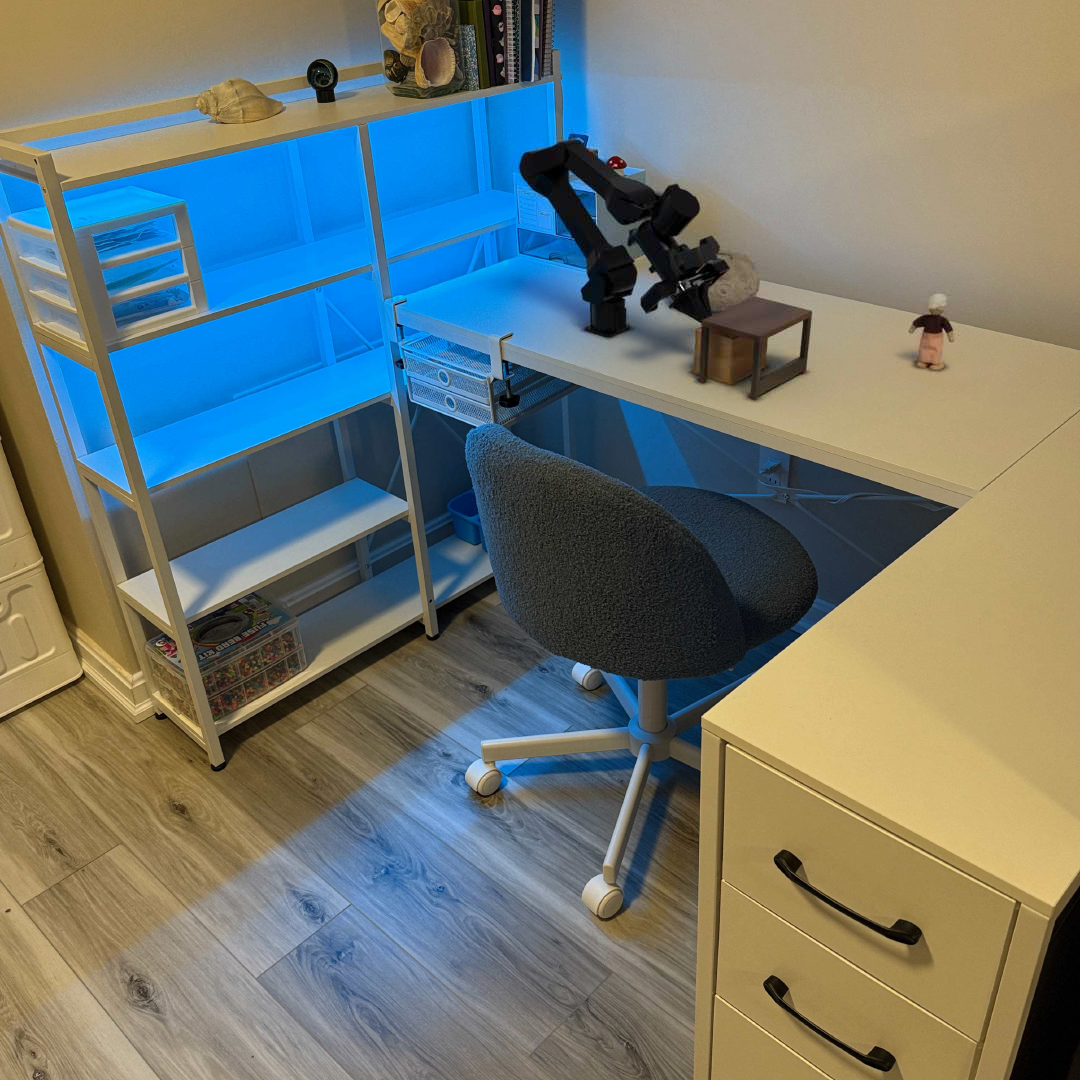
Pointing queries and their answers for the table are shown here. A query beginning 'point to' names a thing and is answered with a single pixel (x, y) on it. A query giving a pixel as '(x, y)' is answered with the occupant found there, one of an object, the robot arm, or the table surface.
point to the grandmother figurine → (932, 332)
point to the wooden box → (727, 356)
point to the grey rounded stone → (734, 282)
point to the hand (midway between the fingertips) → (711, 325)
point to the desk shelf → (759, 337)
